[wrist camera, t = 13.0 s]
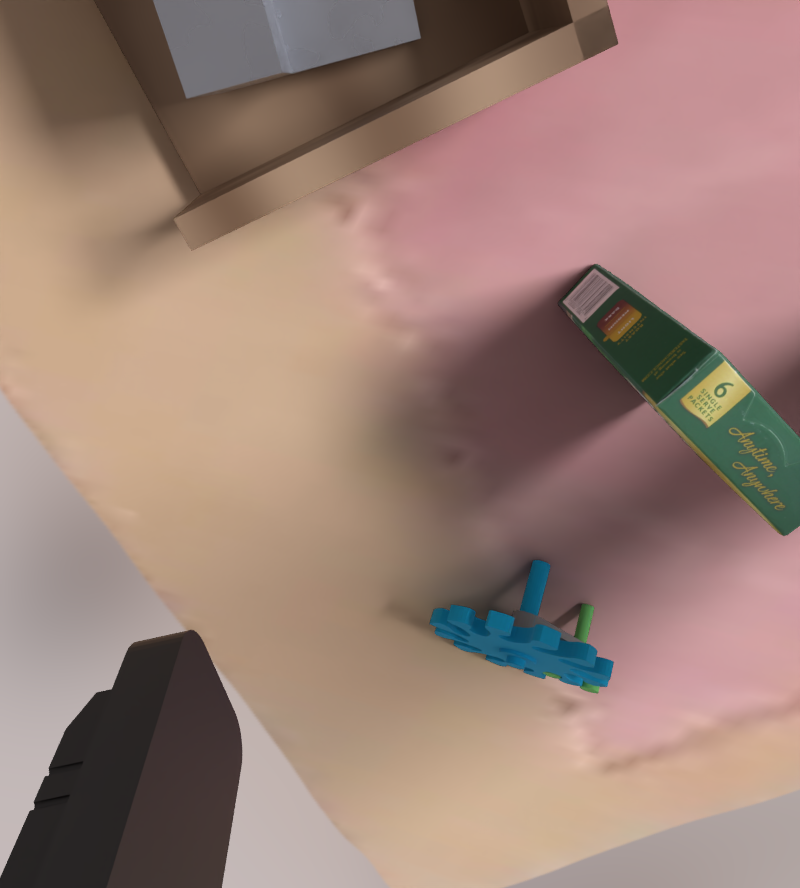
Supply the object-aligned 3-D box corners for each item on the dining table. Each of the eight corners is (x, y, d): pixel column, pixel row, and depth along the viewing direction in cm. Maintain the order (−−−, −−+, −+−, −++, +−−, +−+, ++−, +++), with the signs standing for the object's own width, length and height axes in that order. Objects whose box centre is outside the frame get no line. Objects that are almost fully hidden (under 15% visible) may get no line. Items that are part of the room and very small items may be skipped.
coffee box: (546, 300, 35) (653, 410, 24) (592, 255, 35) (726, 346, 23) (647, 403, 38) (786, 547, 27) (691, 364, 37) (855, 495, 26)
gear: (391, 625, 41) (519, 639, 33) (423, 529, 44) (551, 520, 36) (522, 690, 46) (660, 716, 38) (545, 601, 49) (680, 608, 41)
